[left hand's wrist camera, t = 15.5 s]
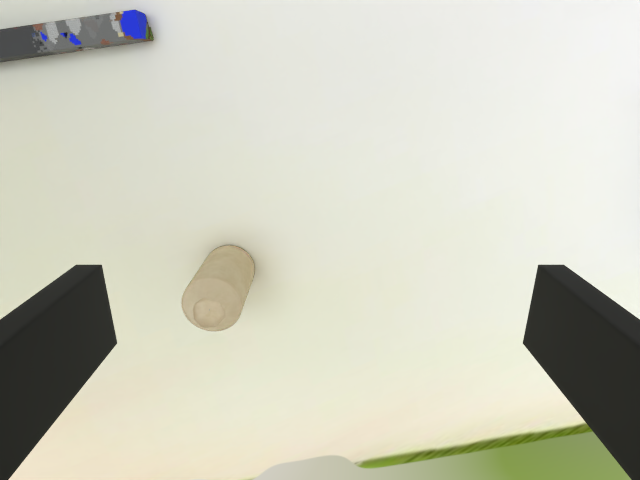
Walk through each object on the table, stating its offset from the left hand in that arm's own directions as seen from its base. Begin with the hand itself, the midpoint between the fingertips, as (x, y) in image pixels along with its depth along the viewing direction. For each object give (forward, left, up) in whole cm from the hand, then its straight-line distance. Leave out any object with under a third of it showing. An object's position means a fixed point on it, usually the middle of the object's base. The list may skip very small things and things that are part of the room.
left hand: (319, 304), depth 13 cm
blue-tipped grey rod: (-4, +27, -31) cm, 41 cm away
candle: (-16, +2, -31) cm, 35 cm away
